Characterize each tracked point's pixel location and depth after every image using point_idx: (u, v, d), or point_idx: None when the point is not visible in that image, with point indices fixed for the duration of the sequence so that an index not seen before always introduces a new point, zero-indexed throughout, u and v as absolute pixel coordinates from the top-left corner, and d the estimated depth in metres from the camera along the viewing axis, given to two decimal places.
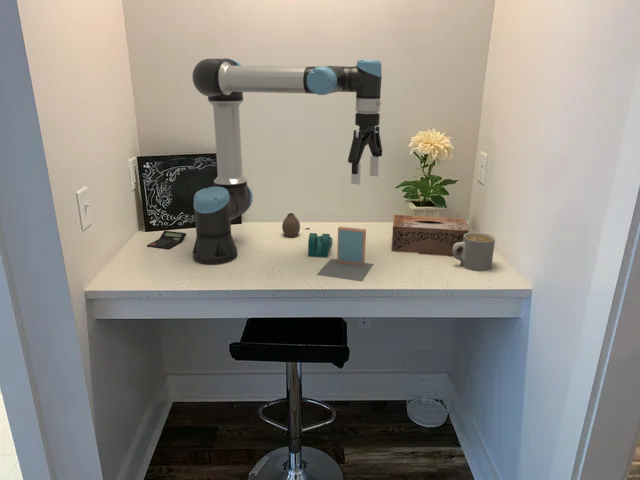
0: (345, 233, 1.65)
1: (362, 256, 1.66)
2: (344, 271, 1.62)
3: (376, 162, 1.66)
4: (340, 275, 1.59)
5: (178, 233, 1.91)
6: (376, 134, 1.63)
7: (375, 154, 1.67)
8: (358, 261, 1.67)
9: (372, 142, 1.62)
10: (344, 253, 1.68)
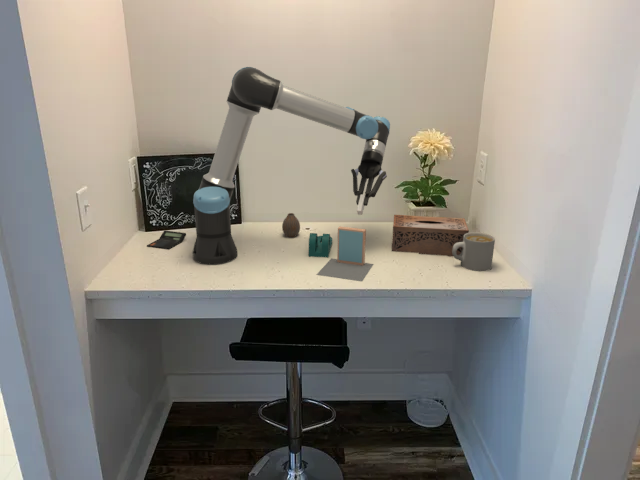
0: (345, 233, 1.65)
1: (362, 256, 1.66)
2: (344, 271, 1.62)
3: None
4: (340, 275, 1.59)
5: (178, 233, 1.91)
6: None
7: None
8: (358, 261, 1.67)
9: None
10: (344, 253, 1.68)
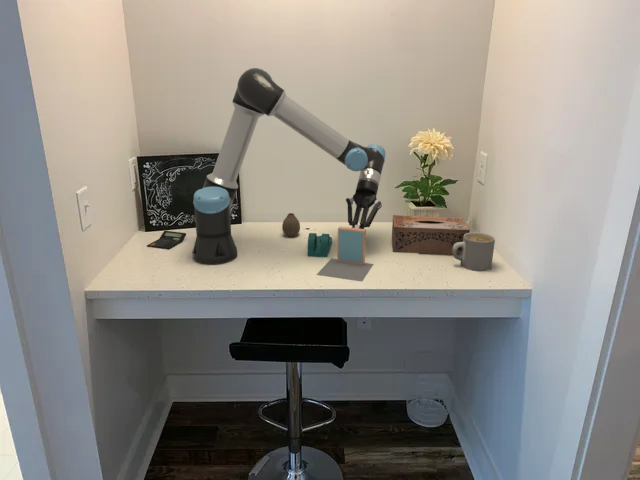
0: (345, 233, 1.65)
1: (362, 256, 1.66)
2: (344, 271, 1.62)
3: None
4: (340, 275, 1.59)
5: (178, 233, 1.91)
6: None
7: None
8: (358, 261, 1.67)
9: None
10: (344, 253, 1.68)
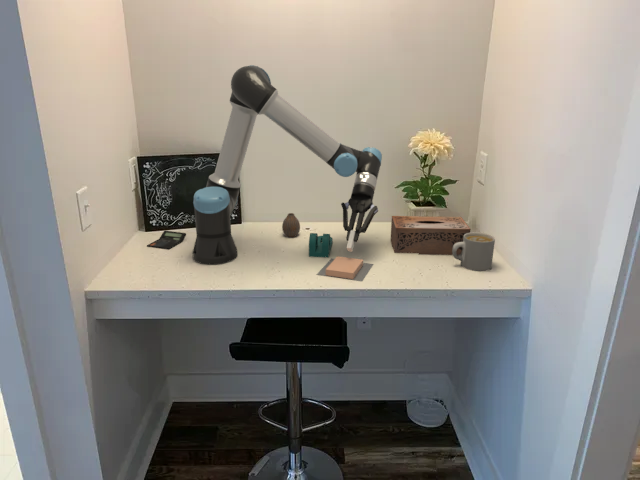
0: None
1: None
2: None
3: None
4: None
5: (178, 233, 1.91)
6: None
7: None
8: None
9: None
10: None
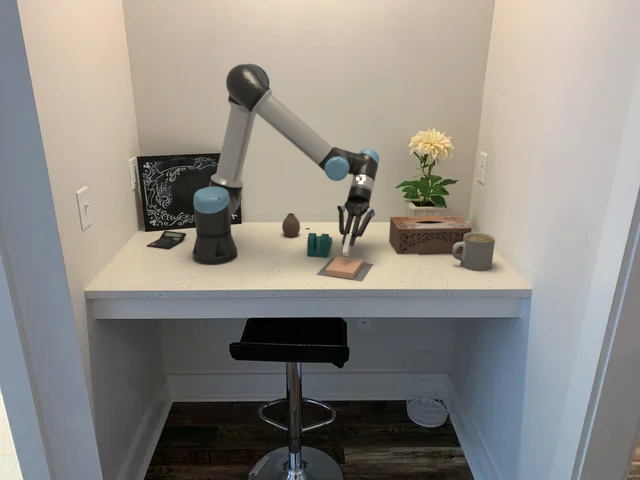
0: None
1: None
2: None
3: None
4: None
5: (178, 233, 1.91)
6: None
7: None
8: None
9: None
10: None
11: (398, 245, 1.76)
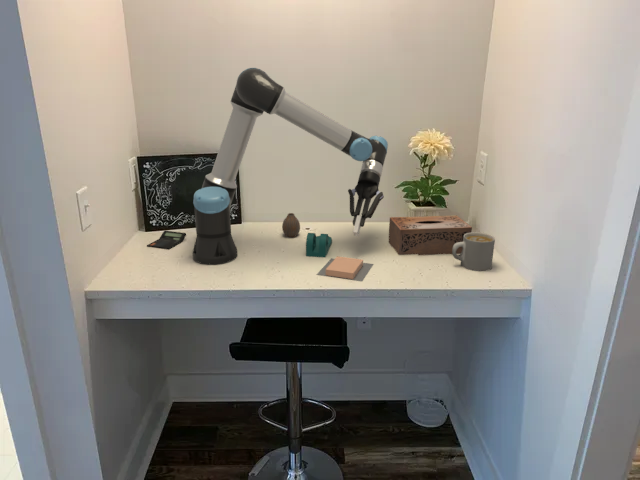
0: None
1: None
2: None
3: None
4: None
5: (178, 233, 1.91)
6: None
7: None
8: None
9: None
10: None
11: (400, 246, 1.75)
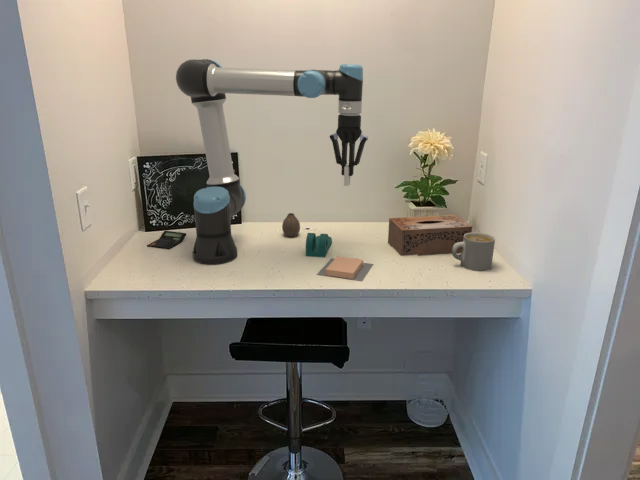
0: None
1: None
2: None
3: None
4: None
5: (178, 233, 1.91)
6: (360, 142, 1.66)
7: None
8: None
9: None
10: None
11: (402, 246, 1.75)
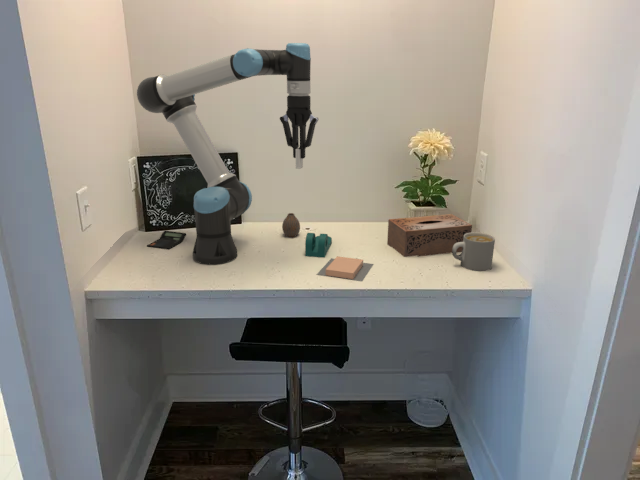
0: None
1: None
2: None
3: None
4: None
5: (178, 233, 1.91)
6: None
7: None
8: None
9: None
10: None
11: (405, 247, 1.74)
